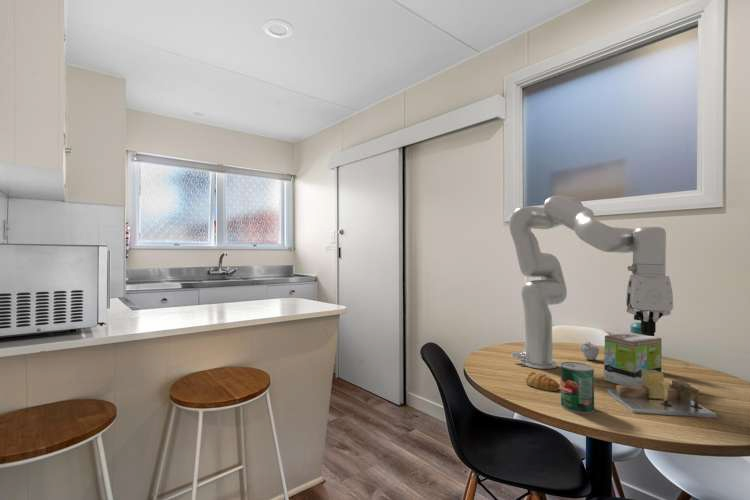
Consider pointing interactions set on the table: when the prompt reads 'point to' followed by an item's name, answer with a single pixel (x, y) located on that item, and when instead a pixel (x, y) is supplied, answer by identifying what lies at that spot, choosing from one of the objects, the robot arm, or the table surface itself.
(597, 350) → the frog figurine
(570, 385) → the canned tomato
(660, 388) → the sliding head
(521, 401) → the table surface
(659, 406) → the bolt plate
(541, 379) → the pastry
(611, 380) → the tea box
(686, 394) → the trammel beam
